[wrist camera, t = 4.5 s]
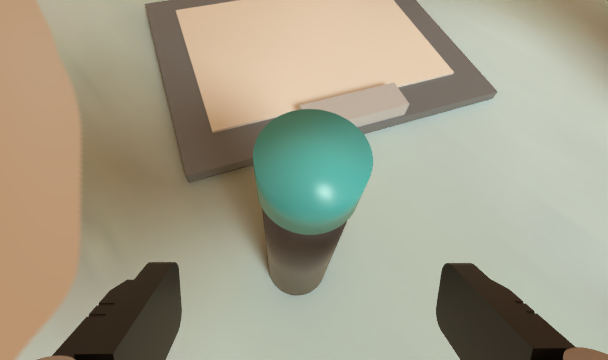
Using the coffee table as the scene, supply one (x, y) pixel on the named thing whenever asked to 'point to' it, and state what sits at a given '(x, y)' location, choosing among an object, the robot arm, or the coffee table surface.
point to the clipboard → (300, 69)
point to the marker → (308, 191)
